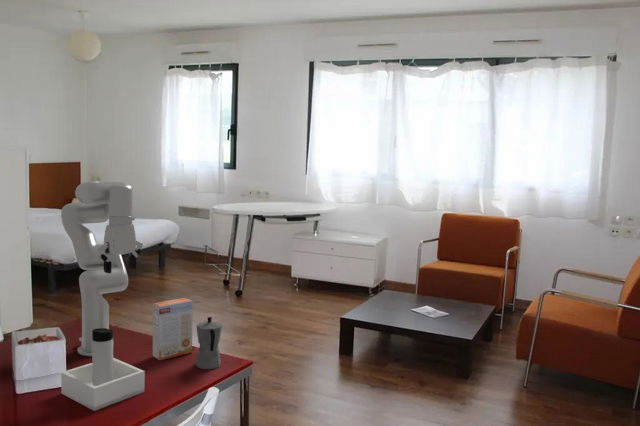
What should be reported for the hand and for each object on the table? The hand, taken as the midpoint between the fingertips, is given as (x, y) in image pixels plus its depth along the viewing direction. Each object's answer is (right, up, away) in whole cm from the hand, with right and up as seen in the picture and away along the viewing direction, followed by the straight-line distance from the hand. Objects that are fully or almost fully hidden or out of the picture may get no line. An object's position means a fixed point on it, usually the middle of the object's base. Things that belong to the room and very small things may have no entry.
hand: (120, 270), depth 197 cm
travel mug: (-2, -37, -12) cm, 39 cm away
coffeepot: (+28, -36, +14) cm, 48 cm away
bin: (-1, -38, -12) cm, 40 cm away
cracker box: (+12, -35, +23) cm, 43 cm away
